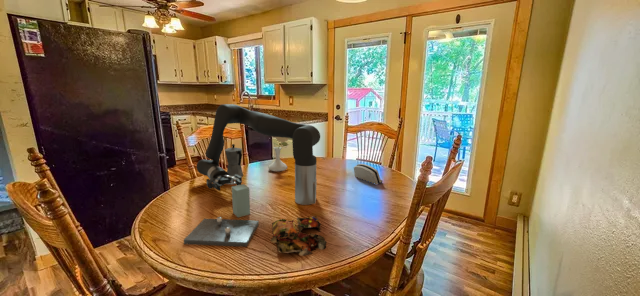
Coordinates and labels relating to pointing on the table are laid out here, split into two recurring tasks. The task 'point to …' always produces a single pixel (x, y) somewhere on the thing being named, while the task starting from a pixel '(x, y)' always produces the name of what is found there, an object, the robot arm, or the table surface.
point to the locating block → (240, 200)
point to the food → (303, 240)
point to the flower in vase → (278, 164)
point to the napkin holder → (367, 173)
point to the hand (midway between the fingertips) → (230, 186)
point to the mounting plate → (222, 232)
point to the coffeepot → (234, 161)
